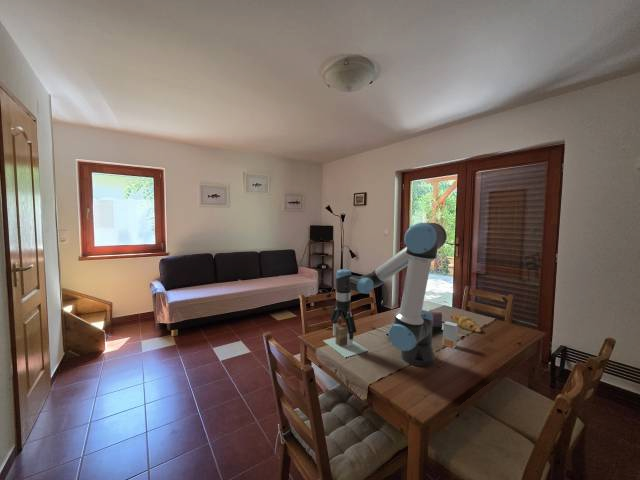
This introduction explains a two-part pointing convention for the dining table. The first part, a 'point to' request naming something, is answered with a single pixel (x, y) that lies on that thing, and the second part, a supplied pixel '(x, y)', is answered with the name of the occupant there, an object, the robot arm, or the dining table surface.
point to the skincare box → (450, 334)
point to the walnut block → (341, 335)
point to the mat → (345, 348)
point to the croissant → (465, 323)
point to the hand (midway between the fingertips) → (342, 339)
